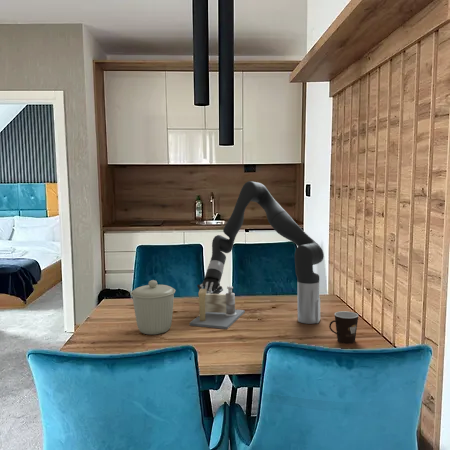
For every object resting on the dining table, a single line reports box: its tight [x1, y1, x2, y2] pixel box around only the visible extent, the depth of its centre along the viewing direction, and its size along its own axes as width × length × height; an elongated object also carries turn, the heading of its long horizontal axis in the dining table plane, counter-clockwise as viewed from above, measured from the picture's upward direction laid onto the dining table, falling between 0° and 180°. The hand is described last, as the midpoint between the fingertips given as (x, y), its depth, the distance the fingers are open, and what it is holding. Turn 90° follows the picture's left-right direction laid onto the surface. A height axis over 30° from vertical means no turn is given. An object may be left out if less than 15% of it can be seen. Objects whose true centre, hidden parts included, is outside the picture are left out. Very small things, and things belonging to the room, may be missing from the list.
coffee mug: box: [328, 310, 359, 345], centre depth 168 cm, size 12×9×10 cm
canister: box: [130, 279, 176, 335], centre depth 184 cm, size 18×18×21 cm
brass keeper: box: [198, 288, 207, 321], centre depth 196 cm, size 8×3×13 cm, turn 178°
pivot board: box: [188, 285, 246, 330], centre depth 198 cm, size 17×24×14 cm
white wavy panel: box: [205, 292, 236, 314], centre depth 201 cm, size 15×4×9 cm, turn 78°
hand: (205, 304), depth 204 cm, fingers closed
